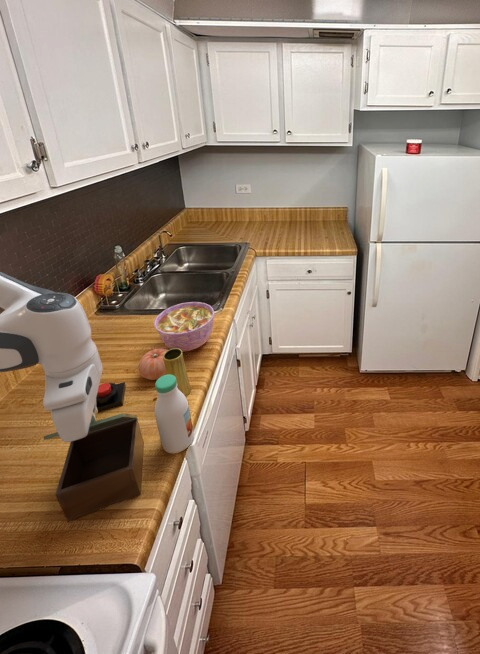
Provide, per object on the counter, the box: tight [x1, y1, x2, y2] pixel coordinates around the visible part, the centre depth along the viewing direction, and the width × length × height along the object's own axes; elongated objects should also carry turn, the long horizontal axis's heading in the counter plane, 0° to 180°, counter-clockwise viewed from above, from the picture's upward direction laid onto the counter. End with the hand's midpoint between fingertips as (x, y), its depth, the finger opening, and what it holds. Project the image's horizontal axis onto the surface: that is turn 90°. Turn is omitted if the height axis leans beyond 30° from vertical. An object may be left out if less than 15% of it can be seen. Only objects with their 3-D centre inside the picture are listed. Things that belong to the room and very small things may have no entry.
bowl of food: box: [153, 301, 215, 352], centre depth 119 cm, size 20×20×12 cm
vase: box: [163, 348, 192, 397], centre depth 98 cm, size 6×6×14 cm
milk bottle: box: [154, 374, 195, 454], centre depth 82 cm, size 8×8×20 cm
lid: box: [43, 413, 138, 441], centre depth 73 cm, size 15×14×1 cm
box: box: [55, 417, 145, 523], centre depth 75 cm, size 14×14×9 cm
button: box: [97, 382, 112, 397], centre depth 96 cm, size 4×4×2 cm
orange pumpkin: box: [137, 347, 169, 381], centre depth 106 cm, size 11×11×8 cm
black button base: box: [96, 381, 127, 413], centre depth 97 cm, size 9×8×4 cm
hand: (92, 418), depth 71 cm, fingers closed
